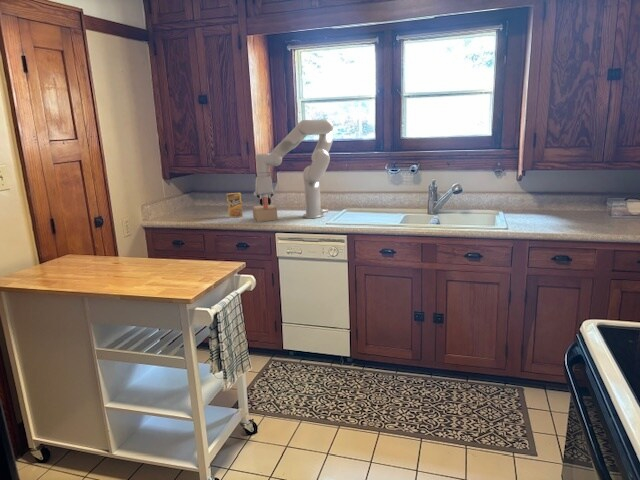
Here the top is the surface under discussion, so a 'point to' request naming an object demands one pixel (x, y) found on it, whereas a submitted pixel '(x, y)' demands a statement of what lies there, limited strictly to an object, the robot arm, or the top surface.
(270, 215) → the carton
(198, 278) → the top surface
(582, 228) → the top surface
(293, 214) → the top surface
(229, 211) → the candy box
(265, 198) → the taped cardboard box
